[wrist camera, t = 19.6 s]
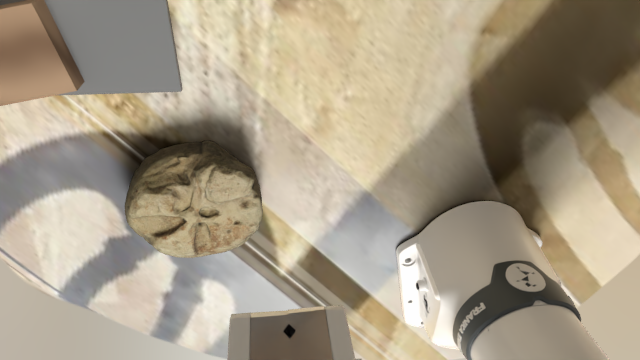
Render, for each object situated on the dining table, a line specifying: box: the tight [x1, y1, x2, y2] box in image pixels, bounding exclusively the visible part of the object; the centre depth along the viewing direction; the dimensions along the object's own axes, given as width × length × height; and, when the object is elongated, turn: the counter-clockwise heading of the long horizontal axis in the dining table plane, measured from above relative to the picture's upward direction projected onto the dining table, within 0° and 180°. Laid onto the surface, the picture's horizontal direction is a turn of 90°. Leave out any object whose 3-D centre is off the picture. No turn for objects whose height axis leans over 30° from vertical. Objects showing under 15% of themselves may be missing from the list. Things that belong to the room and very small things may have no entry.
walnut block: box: [0, 0, 85, 106], centre depth 35 cm, size 7×7×2 cm
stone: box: [125, 141, 263, 258], centre depth 44 cm, size 13×13×5 cm
